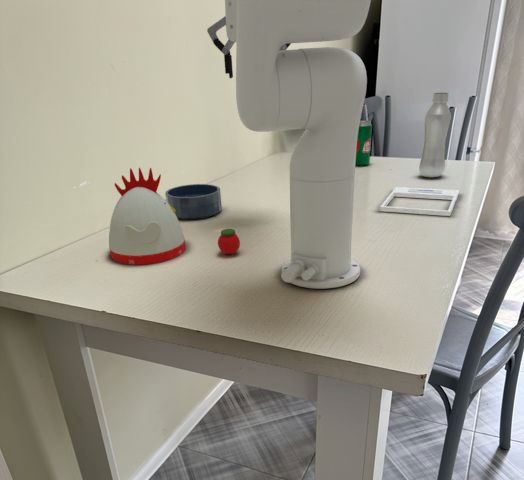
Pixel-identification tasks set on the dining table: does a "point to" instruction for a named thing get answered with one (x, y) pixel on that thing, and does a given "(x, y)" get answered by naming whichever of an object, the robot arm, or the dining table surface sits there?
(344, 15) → the robot arm
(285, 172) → the dining table surface
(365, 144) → the soda can
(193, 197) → the bowl
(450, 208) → the photo frame
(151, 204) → the kitchen timer
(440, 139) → the plastic bottle
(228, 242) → the red tomato
